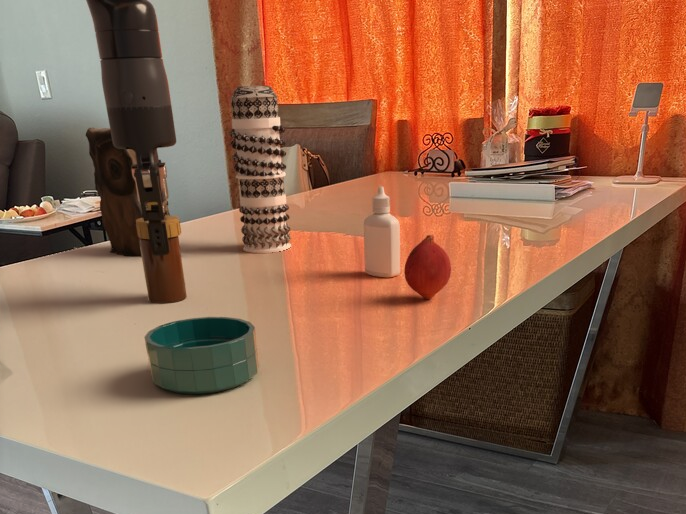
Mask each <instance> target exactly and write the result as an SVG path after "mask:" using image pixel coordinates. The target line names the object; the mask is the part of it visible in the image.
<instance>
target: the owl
mask: <svg viewBox="0 0 686 514" xmlns="http://www.w3.org/2000/svg"><path fill="white" fill-rule="evenodd" d="M85 137H86V139H87V142H88V152H89V153H88V155H89V157H90V158H91V161H92V164H93V168H94V173H93V177H94V185H95V186H94V188H95V191H96V192H97V194H98V195H99V199H100V201H99V210H100V214H101V222H102V225H103V228H104V230H105V233H106V235H107V237H108V241H109V243H110V250H109V252H110V253H112V254H113V253H114V254H116V255H123V256H124V257H142V256H141V250H140V244H139V236H138V234H137V228H136V220H137V219H139V218H142V209H141V205H140V203H139V201H138V197H137V190H136V182H135V181H134V179H133V176H132V169H131V166H133V164H137V162H136V154H135V152H134V150H132V149H118V148H116V147H115V146H114V145H113V141H112V136H111V130H110V127H108V128H107V127H102V128H95V127H88V128H87V129H86V132H85ZM168 215H170V216H171V213H170V211H169V212H168Z"/></svg>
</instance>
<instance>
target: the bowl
mask: <svg viewBox="0 0 686 514" xmlns="http://www.w3.org/2000/svg"><path fill="white" fill-rule="evenodd" d="M144 342H145V343H144V344H145V348H146V353H147V354H146V355H147V358H148V364H149V371H150V376H151V379H152V382H153V384H154V385H156V386H158V387H160V388H162V389H165V390H167V391H170V392H172V393H178V394H185V395H203V394H204V395H205V394H213V393H219V392H223V391H227V390H231V389H234V388H237V387H239V386H241V385H244V384H245V383H247V382H248V381H249V380H251V379H252V378H253V377H255V376H256V375H257V374H258V373H259V369H260V361H259V352H258V342H257V333H256V327H255V326H254V324H253V323H251V321H248V320H245V319H242V318H237V317H228V316H204V317H203V316H202V317H191V318H185V319H180V320H175V321H171V322H168V323H164V324H161V325H158V326H156V327H154V328H153V329H150V330H149V331H148V332H147V333H146V334H145V335H144Z"/></svg>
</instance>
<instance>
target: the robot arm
mask: <svg viewBox="0 0 686 514" xmlns="http://www.w3.org/2000/svg"><path fill="white" fill-rule="evenodd" d="M85 1H86V5H87V7H88V9H89V12H90V13H89V14H90V15H91V20H92V23H93V29H94V33H95V39H96V44H97V50H98V51H97V52H98V57H99V62H100V70H101V71H100V74H101V75H100V76H101V85H102V91H103V96H104V97H103V98H104V102H105V108H106V112H107V118H108V119H107V120H108V125H109V128H110V130H111V136H112V141H113V145H114V146H115V147H116V148H118V149H132V150H134V152H135V154H136V162H137V164H133V166H131V169H132V176H133V179H134V181H135V182H136V190H137V197H138V201H139V203H140V205H141V209H142V218H143V219H144V221H145V223H146V224H147V227H148V233H149V239H150V245H151V251H152V254H153V255H167V254H169V251H170V248H169V242H168V236H167V229H166V220H167V218H166V216H165V215H168V212H169V213H170V209H169V201H168V199H169V188H168V183H167V178H168V171H167V165H166V162H162V159H160V158H159V153H158V149H162V148H169V147H174V146H175V145H176V144H177V135H176V128H175V122H174V114H173V107H172V100H171V94H170V93H171V92H170V86H169V80H168V76H167V72H166V68H165V64H164V59H163V53H162V45H161V39H160V32H159V31H160V30H159V24H158V18H157V17H158V16H157V13H156V10H155V8H154V4H152V3H151V1H149V0H85Z"/></svg>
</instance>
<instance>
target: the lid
mask: <svg viewBox="0 0 686 514" xmlns="http://www.w3.org/2000/svg"><path fill="white" fill-rule="evenodd" d="M165 216H166V218H167V220H166V229H167V236H168V238H171V237H176V236H178V237H179V236H181V234H182V228H181V227H182V226H181V221H180V218H179V216H177V215H171V214H170V215H165ZM136 228H137V234H138V236H139V238H142V239H149V233H148V227H147V224H146V223H145V221H144V219H143V218H139V219H137V220H136Z"/></svg>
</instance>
